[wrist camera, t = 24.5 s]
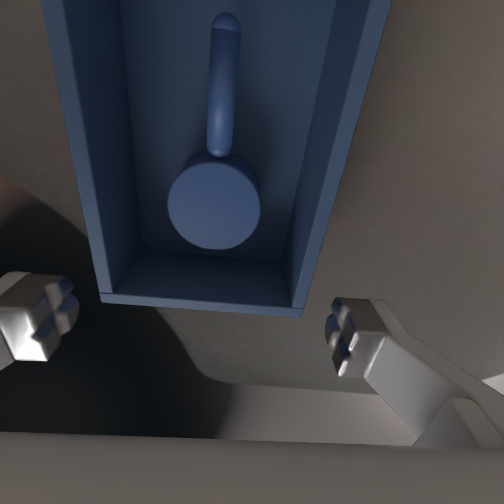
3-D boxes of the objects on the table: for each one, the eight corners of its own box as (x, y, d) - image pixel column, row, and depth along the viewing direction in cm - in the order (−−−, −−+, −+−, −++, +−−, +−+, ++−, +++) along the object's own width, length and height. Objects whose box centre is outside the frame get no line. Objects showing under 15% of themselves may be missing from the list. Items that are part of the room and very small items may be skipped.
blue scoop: (253, 230, 15) (254, 254, 13) (179, 222, 15) (167, 246, 12) (281, 34, 11) (290, 18, 8) (178, 17, 10) (159, -5, 8)
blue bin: (288, 265, 17) (301, 318, 13) (136, 251, 16) (100, 302, 12) (354, -25, 10) (421, -99, 6) (102, -71, 10) (1, -187, 6)
